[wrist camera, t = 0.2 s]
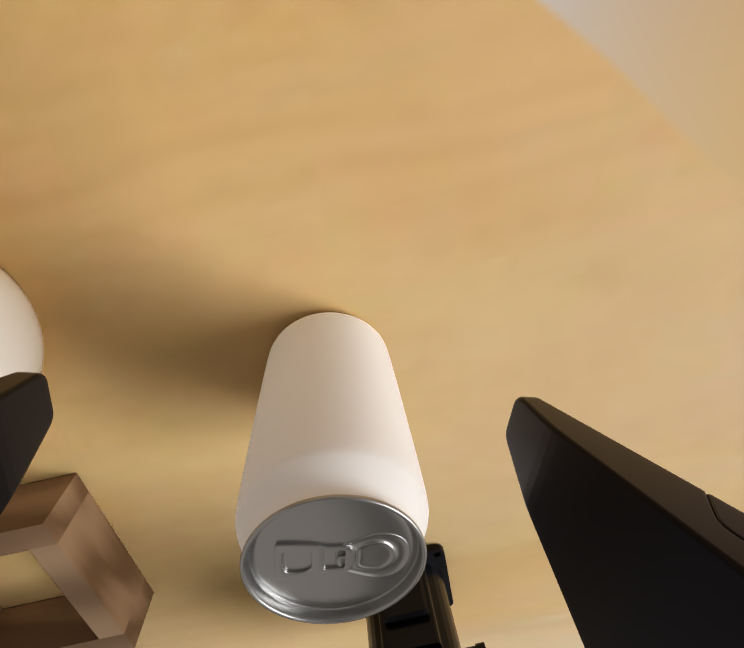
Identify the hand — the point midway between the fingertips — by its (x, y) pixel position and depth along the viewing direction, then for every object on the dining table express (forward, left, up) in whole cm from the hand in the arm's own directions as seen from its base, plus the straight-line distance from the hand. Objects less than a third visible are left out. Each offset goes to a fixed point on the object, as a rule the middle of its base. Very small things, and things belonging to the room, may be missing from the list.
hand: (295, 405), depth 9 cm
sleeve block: (-16, +22, -14) cm, 30 cm away
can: (-7, +1, -14) cm, 16 cm away
